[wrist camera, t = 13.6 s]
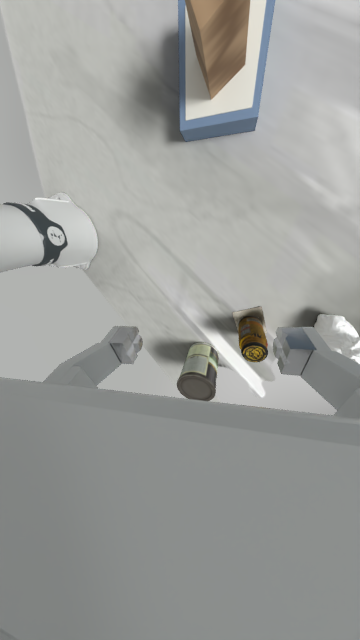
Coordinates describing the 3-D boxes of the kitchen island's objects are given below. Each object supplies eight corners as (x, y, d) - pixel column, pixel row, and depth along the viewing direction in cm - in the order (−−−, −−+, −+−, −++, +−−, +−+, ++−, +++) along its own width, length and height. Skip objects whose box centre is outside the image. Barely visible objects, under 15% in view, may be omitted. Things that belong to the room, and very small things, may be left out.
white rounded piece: (327, 342, 43) (392, 362, 32) (307, 357, 41) (368, 382, 31) (322, 303, 39) (395, 311, 28) (300, 318, 37) (367, 333, 27)
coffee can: (225, 352, 51) (223, 390, 39) (208, 370, 57) (202, 407, 45) (197, 336, 51) (187, 369, 39) (183, 355, 56) (170, 389, 45)
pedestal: (185, 141, 30) (179, 130, 26) (185, 28, 24) (177, -6, 20) (254, 130, 27) (258, 116, 23) (274, -3, 21) (282, -49, 17)
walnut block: (211, 100, 24) (200, 31, 16) (196, 55, 22) (174, -48, 14) (245, 64, 22) (253, -38, 13) (231, 12, 20) (230, -141, 12)
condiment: (239, 337, 47) (241, 367, 37) (232, 312, 44) (232, 337, 34) (267, 333, 44) (277, 364, 34) (261, 305, 41) (270, 331, 31)
